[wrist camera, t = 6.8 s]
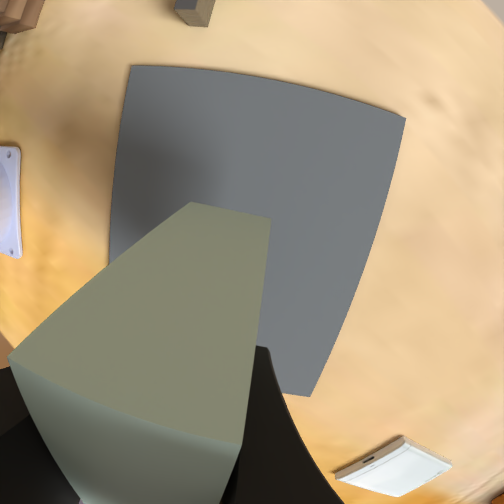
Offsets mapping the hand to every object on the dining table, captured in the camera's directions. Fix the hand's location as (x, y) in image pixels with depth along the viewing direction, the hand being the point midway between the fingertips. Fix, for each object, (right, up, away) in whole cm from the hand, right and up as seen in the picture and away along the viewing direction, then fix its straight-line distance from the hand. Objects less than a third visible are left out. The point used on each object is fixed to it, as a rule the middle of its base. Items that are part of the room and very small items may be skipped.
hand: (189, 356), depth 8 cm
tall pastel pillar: (0, +2, +4) cm, 4 cm away
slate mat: (+1, +3, +8) cm, 8 cm away
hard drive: (+17, -20, +16) cm, 31 cm away
